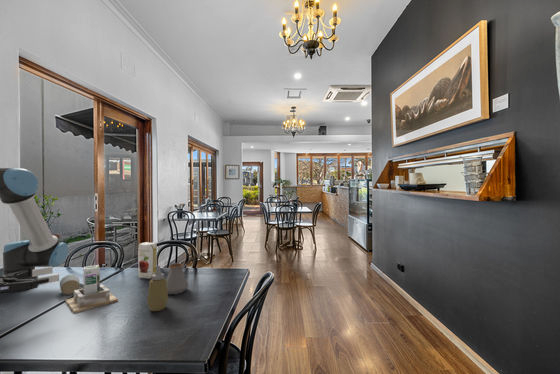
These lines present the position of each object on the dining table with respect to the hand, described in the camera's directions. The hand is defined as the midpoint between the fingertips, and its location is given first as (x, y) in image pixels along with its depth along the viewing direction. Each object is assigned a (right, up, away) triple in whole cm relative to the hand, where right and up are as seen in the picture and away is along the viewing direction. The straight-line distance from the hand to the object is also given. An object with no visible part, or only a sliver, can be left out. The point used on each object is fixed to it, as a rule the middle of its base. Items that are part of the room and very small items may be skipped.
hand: (55, 273), depth 115 cm
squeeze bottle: (+41, -16, +2) cm, 44 cm away
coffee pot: (+44, -16, +25) cm, 53 cm away
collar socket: (+9, -15, +8) cm, 20 cm away
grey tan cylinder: (-7, -15, +19) cm, 26 cm away
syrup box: (+9, -14, +8) cm, 19 cm away
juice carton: (+18, -15, +43) cm, 49 cm away
